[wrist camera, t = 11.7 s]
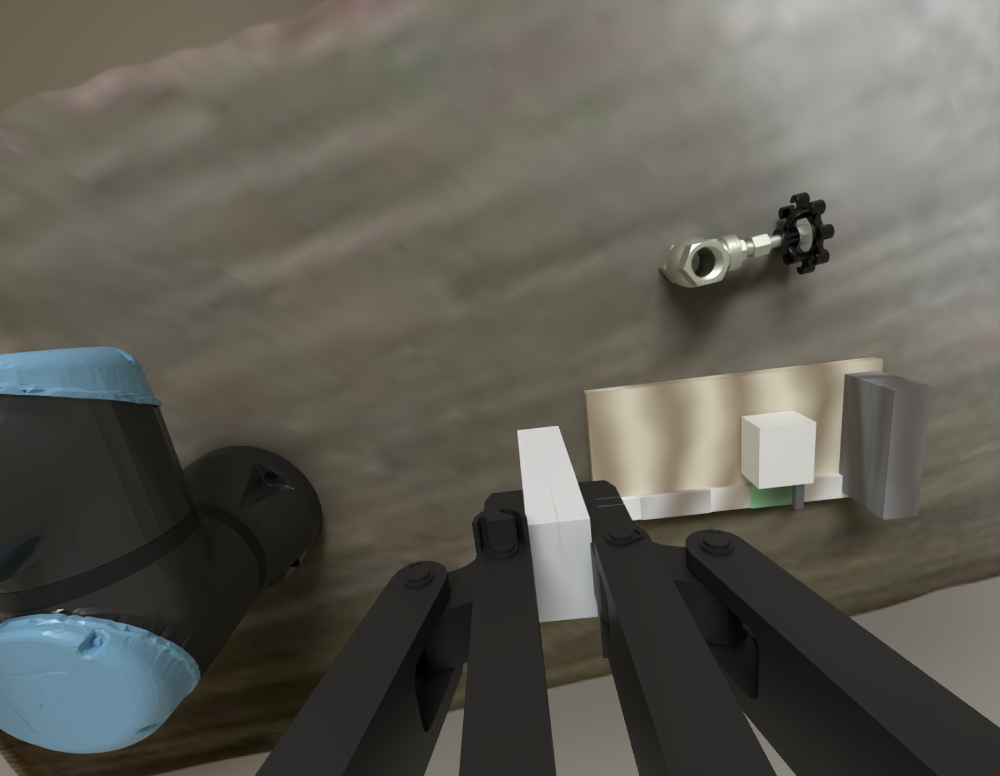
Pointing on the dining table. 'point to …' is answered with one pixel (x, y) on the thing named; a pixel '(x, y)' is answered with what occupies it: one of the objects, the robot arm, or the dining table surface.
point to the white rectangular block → (779, 451)
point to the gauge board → (717, 438)
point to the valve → (750, 247)
